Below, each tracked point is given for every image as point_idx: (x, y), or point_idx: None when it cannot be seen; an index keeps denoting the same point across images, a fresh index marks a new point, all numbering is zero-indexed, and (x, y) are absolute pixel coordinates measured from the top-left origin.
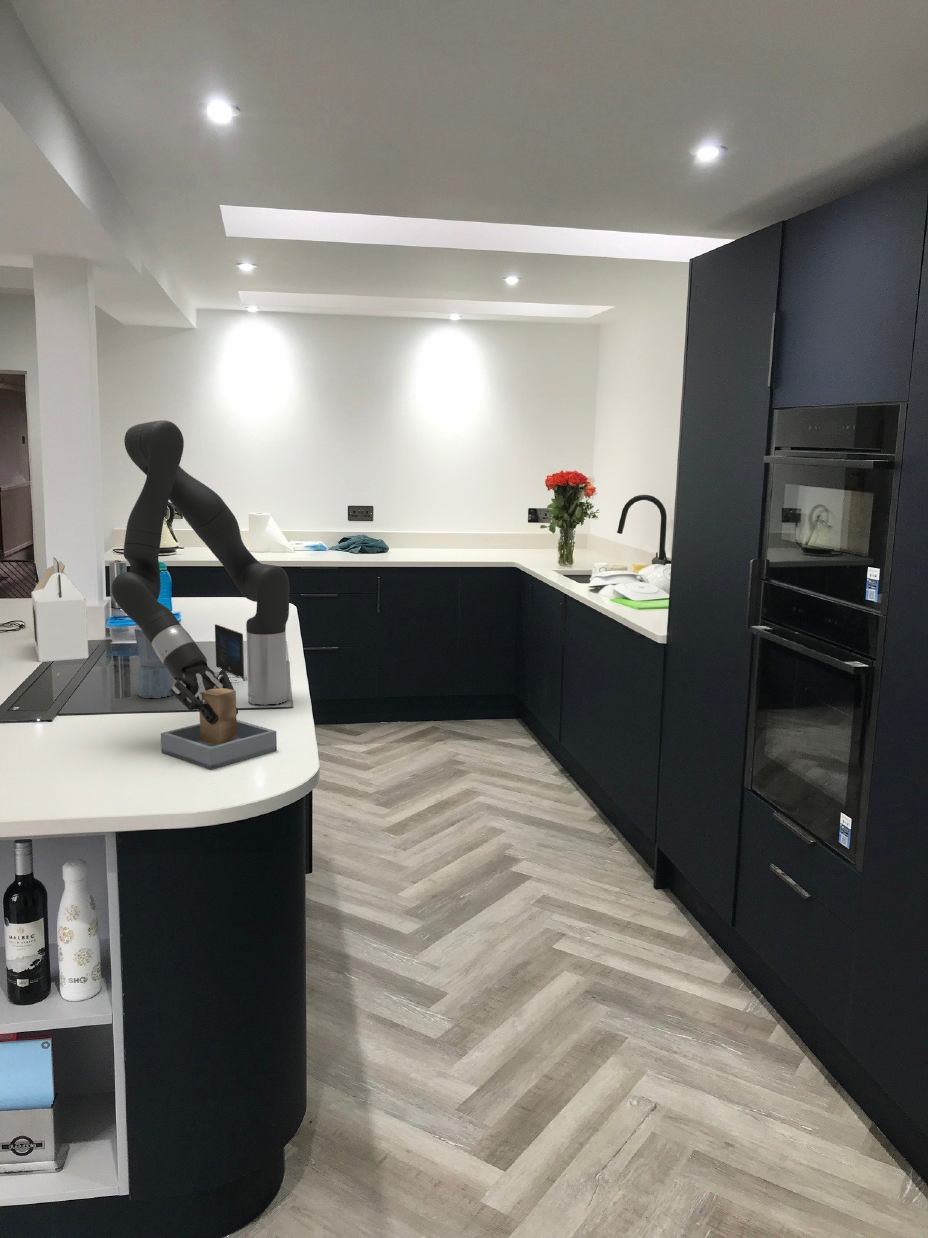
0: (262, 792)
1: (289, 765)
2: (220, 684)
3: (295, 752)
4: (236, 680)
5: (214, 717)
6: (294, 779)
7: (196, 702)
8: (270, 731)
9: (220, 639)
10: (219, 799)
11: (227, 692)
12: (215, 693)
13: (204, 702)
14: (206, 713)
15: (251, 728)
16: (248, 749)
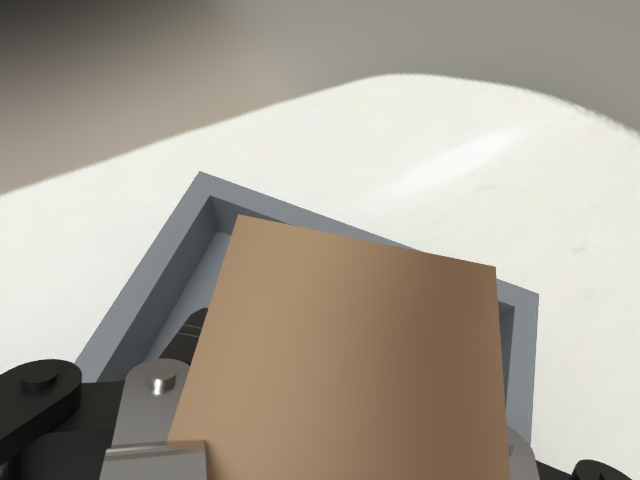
0: (536, 117)
1: (338, 131)
2: (131, 469)
3: (214, 158)
4: None
5: None
6: (427, 89)
7: (613, 471)
8: (211, 189)
9: None
10: (632, 177)
11: (349, 244)
12: (443, 338)
13: (508, 432)
14: None
15: (144, 312)
16: None
